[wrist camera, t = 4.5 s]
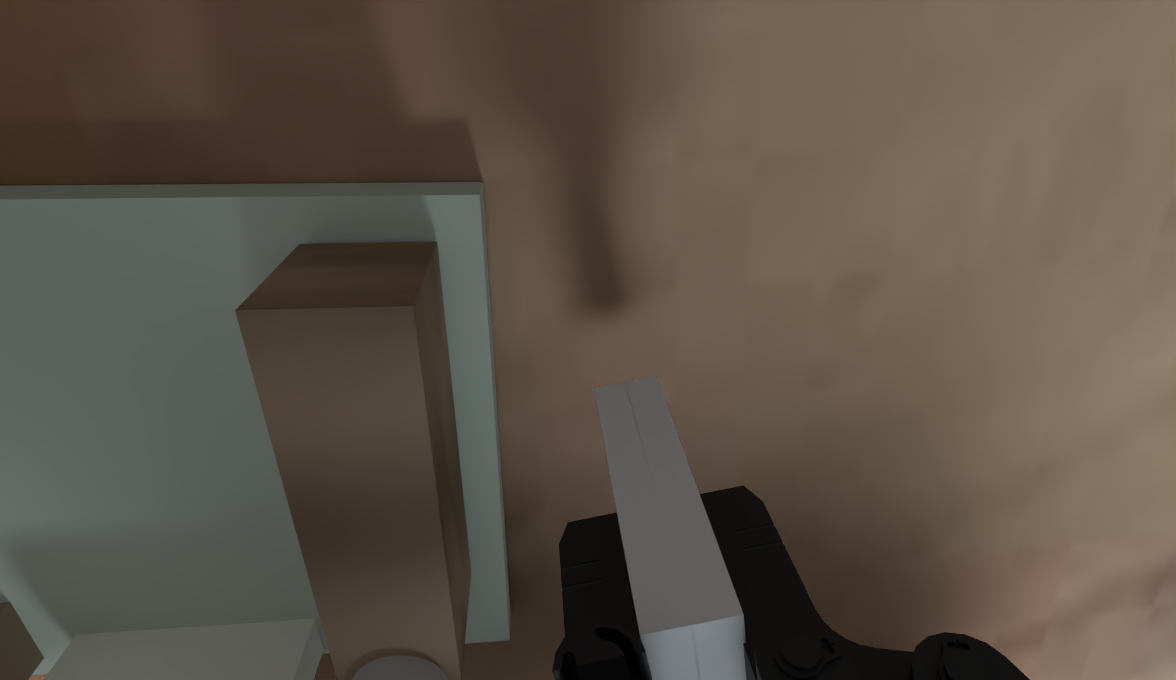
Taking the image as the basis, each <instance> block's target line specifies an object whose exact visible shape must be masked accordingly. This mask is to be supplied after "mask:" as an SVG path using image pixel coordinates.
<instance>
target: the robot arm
mask: <svg viewBox="0 0 1176 680" xmlns="http://www.w3.org/2000/svg"><path fill="white" fill-rule="evenodd" d="M594 392H595V398H596V403H597V409H598V414H599V419H600V425H601V430H602V435H603V441H604V446H605V451H606V457H607V462H608V467H609V473H610V478H611V483H612V489H613V494H614V499H615V505H616V510H617V513H612V514H607V515H602V516H597V517H593V518H588V519H583V520H578V521H573V522H568V524H567V526H566V529H565V531H564V534H563V536H562V538H561V541H560V543H559V551H560V565H561V580H562V589H563V591H562V595H563V610H564V625H565V638H564V639H563V641H562V643H561V644H560V646H559V648H558V650H557V651H556V653H555V658H554V665H553V673H554V676H555V679H556V680H1030V679H1028V678H1027V677H1026V676H1025V675H1024V674H1023V673H1022V672H1021V671H1020V670H1019V669H1018V668H1017V667H1016V666H1015V665H1014V664H1013V663H1011V662H1010V661H1009V660H1008V659H1007V658H1006V657H1005V656H1004V655H1002V654H1001V653H1000V652H998V651H997V650H995V649H994V648H993V647H991V646H990V645H988V644H987V643H985V642H983V641H980V640H978V639H975V638H973V637H970V636H968V635H965V634H955V633H946V632H944V633H940V634H936V635H932V636H928V637H927V638H925V639H924V640H923V641H922V642H921V643H919V644H918V645H917V646H916V648H915V651H914V652H906V651H897V650H889V649H880V648H873V647H868V646H864V645H859V644H857V643H855V642H852V641H850V640H847V639H845V638H844V637H842V636H841V635H839V634H838V633H836V632H835V631H833V630H832V629H831V628H830V627H829V626H828V625H827V624H826V623H825V622H824V621H823V620H822V619H821V617H820V616H819V614H818V612H817V611H816V609H815V607H814V605H813V603H812V601H811V599H810V597H809V595H808V593H807V591H806V589H805V587H804V585H803V583H802V581H801V579H800V577H799V575H798V573H797V571H796V568H795V566H794V564H793V562H792V560H791V558H790V556H789V554H788V552H787V550H786V548H785V546H784V545H783V544H782V540H781V538H780V536H779V534H778V532H777V530H776V528H775V527H774V525H773V522H772V519H771V517H770V515H769V513H768V511H767V509H766V507H765V505H764V503H763V502H762V501H761V500H760V499H759V498H758V497H757V496H755V495H754V494H753V493H752V492H751V491H749V490H748V489H747V488H746V487H745V486H739V487H734V488H729V489H724V490H719V491H714V492H709V493H704V494H699V491H698V489H697V486H696V483H695V480H694V478H693V475H692V472H691V469H690V467H689V464H688V461H687V458H686V456H685V453H684V450H683V448H682V445H681V442H680V439H679V437H678V434H677V431H676V428H675V426H674V423H673V420H672V417H671V415H670V412H669V409H668V407H667V404H666V401H665V398H664V396H663V393H662V390H661V387H660V385H659V382H658V379H657V376H653V377H648V378H643V379H638V380H633V381H628V382H624V383H619V384H614V385H609V386H604V387H599V388H594Z"/></svg>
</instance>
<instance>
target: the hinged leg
mask: <svg viewBox="0 0 1176 680" xmlns="http://www.w3.org/2000/svg"><path fill="white" fill-rule="evenodd" d="M235 312H236V316H237V320H238V323H239V327H240V331H241V334H242V338H243V342H244V345H245V349H246V352H247V356H248V360H249V363H250V367H251V371H252V374H253V378H254V381H255V385H256V389H257V392H258V396H259V400H260V403H261V407H262V411H263V414H264V418H265V421H266V425H267V429H268V432H269V436H270V440H271V443H272V447H273V450H274V454H275V458H276V461H277V465H278V469H279V472H280V476H281V480H282V483H283V487H284V490H285V494H286V498H287V501H288V505H289V509H290V512H291V516H292V520H293V523H294V527H295V530H296V534H297V538H298V541H299V545H300V549H301V552H302V556H303V559H304V563H305V567H306V570H307V574H308V578H309V581H310V585H311V589H312V592H313V596H314V599H315V603H316V607H317V610H318V614H319V618H320V621H321V625H322V628H323V632H324V636H325V639H326V643H327V647H328V650H329V654H330V658H331V661H332V665H333V668H334V672H335V676H336V679H337V680H461V679H462V668H463V657H464V646H465V636H466V625H467V614H468V603H469V593H470V582H471V564H470V555H469V545H468V535H467V525H466V516H465V506H464V496H463V487H462V477H461V467H460V457H459V448H458V438H457V428H456V419H455V409H454V399H453V389H452V380H451V370H450V360H449V351H448V341H447V331H446V321H445V312H444V302H443V292H442V283H441V273H440V263H439V253H438V244H437V242H379V243H317V244H299V245H298V246H297V247H296V248H295V249H294V250H293V251H292V252H291V253H290V254H289V255H288V256H287V257H286V258H285V259H284V260H283V261H282V262H281V263H280V264H279V265H278V267H277V268H276V269H275V270H274V271H273V272H272V273H271V274H270V275H269V276H268V277H267V278H266V279H265V280H264V281H263V282H262V283H261V284H260V285H259V286H258V287H257V288H256V289H255V290H254V291H253V292H252V293H251V294H250V295H249V296H248V297H247V298H246V299H245V300H244V302H243V303H242V304H241V305H240V306H239V307H238V308H237V309H236V310H235Z"/></svg>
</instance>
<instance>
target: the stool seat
mask: <svg viewBox="0 0 1176 680" xmlns="http://www.w3.org/2000/svg"><path fill="white" fill-rule="evenodd" d="M379 242H437V244H438V253H439V263H440V273H441V283H442V292H443V302H444V312H445V321H446V331H447V341H448V351H449V360H450V370H451V380H452V389H453V399H454V409H455V419H456V428H457V438H458V448H459V457H460V467H461V477H462V487H463V496H464V506H465V516H466V525H467V535H468V545H469V555H470V564H471V582H470V593H469V603H468V614H467V625H466V636H465V644H467V643H481V642H495V641H509V640H510V597H509V581H508V566H507V550H506V535H505V519H504V504H503V488H502V473H501V457H500V442H499V426H498V411H497V395H496V380H495V364H494V349H493V333H492V318H491V302H490V287H489V271H488V256H487V240H486V225H485V209H484V194H483V182H409V183H283V184H156V185H30V186H0V680H28V679H29V678H30V676H31V675H38V674H47V676H46V677H45V678H44V680H314V678H315V675H316V672H317V668H318V665H319V662H320V659H321V656H322V654H329V650H328V647H327V643H326V639H325V636H324V632H323V628H322V625H321V621H320V618H319V614H318V610H317V607H316V603H315V599H314V596H313V592H312V589H311V585H310V581H309V578H308V574H307V570H306V567H305V563H304V559H303V556H302V552H301V549H300V545H299V541H298V538H297V534H296V530H295V527H294V523H293V520H292V516H291V512H290V509H289V505H288V501H287V498H286V494H285V490H284V487H283V483H282V480H281V476H280V472H279V469H278V465H277V461H276V458H275V454H274V450H273V447H272V443H271V440H270V436H269V432H268V429H267V425H266V421H265V418H264V414H263V411H262V407H261V403H260V400H259V396H258V392H257V389H256V385H255V381H254V378H253V374H252V371H251V367H250V363H249V360H248V356H247V352H246V349H245V345H244V342H243V338H242V334H241V331H240V327H239V323H238V320H237V316H236V312H235V310H236V309H237V308H238V307H239V306H240V305H241V304H242V303H243V302H244V300H245V299H246V298H247V297H248V296H249V295H250V294H251V293H252V292H253V291H254V290H255V289H256V288H257V287H258V286H259V285H260V284H261V283H262V282H263V281H264V280H265V279H266V278H267V277H268V276H269V275H270V274H271V273H272V272H273V271H274V270H275V269H276V268H277V267H278V265H279V264H280V263H281V262H282V261H283V260H284V259H285V258H286V257H287V256H288V255H289V254H290V253H291V252H292V251H293V250H294V249H295V248H296V247H297V246H298V245H299V244H317V243H379Z"/></svg>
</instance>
